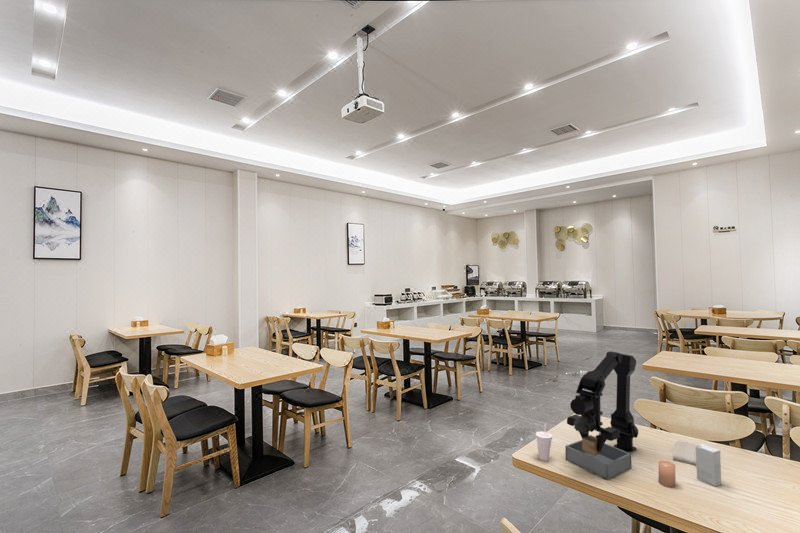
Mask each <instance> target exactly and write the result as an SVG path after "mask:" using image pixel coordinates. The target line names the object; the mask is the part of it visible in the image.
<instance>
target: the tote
mask: <svg viewBox="0 0 800 533" xmlns="http://www.w3.org/2000/svg"><path fill="white" fill-rule="evenodd" d="M565 461H567V462H570V463H571V464H573V465H575V466H577V467H580V468H582V469H584V470H586V471H587V472H590V473H591V474H593V475H595V476H598V477H600V478H602V479H604V480H606V481H609V480H611V479H613V478H615V477H616V476H619V475H621V474H623V473H625V472H627V471H629V470H631V469H632V453H631V452H625V451H623V450H620V449H618V448H616V447H613V445H610V444H608V443H606V442H605V443H604V445H603V447H602V453H601V454H598V455H596V456H593V455H591V454H588V453H586V452H584V451H582V439H579V440H577V441H575V442H572V443H569V444H566V445H565Z"/></svg>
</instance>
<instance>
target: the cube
mask: <svg viewBox="0 0 800 533" xmlns="http://www.w3.org/2000/svg"><path fill="white" fill-rule="evenodd" d="M581 440H582V451H584V452H586V453H588V454H591V455H593V456H596V455H598V454H601V453H602V449H601V451H600V452H598V451H597V438H596V437H595V436H594V435H591V434H589V436H586V437H584V438H582V437H581Z"/></svg>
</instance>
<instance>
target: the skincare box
mask: <svg viewBox="0 0 800 533" xmlns="http://www.w3.org/2000/svg"><path fill="white" fill-rule="evenodd" d="M696 445H697V444H696ZM721 464H722V463H721V450H720V449H718V448H715V447H713V446H709V445H706V444H704V443H701V444H698V445H697V446H696V479H697V480H699V481H702V482H704V483H706V484H707V485H708V484H709V485H711V486H714V487H718V486H720V485H722V469H721V468H722V467H721ZM719 484H720V485H719ZM717 485H718V486H717Z"/></svg>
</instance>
